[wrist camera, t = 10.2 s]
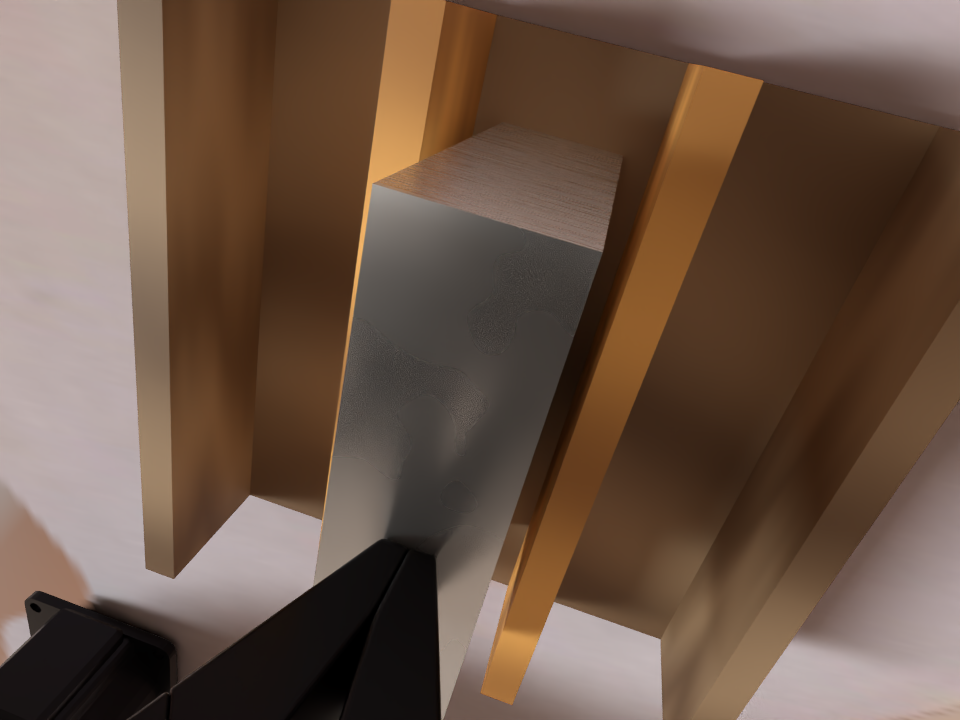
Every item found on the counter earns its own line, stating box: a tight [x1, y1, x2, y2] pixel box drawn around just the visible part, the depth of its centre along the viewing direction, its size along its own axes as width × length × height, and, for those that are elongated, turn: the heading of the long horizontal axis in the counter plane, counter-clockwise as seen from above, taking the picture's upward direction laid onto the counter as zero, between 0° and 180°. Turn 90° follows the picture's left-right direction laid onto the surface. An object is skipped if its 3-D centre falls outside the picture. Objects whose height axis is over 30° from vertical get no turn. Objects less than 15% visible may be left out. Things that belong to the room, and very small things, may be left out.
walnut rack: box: [117, 0, 960, 720], centre depth 14 cm, size 14×14×4 cm
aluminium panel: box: [313, 122, 623, 720], centre depth 12 cm, size 10×2×7 cm, turn 167°
